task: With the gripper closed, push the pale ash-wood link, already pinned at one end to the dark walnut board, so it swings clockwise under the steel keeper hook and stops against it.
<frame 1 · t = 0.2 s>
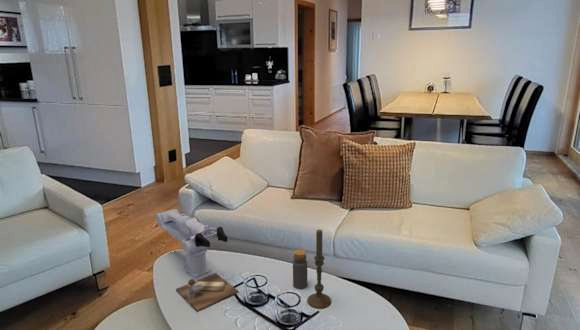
hand: (218, 242, 151), 21 cm above the table, tool horizontal, fingers open, 7 cm apart
candlestick holder: (319, 301, 148), on the table
link: (205, 284, 155), point 3 cm above the table, hinge at 50.0°
bottle: (300, 285, 159), on the table
keeper: (192, 290, 156), resting on board
board: (207, 292, 155), on the table
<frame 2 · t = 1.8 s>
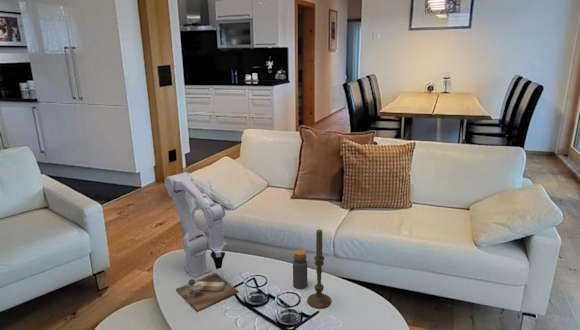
hand: (218, 264, 159), 8 cm above the table, tool pointing down, fingers open, 5 cm apart
nothing on the table moved.
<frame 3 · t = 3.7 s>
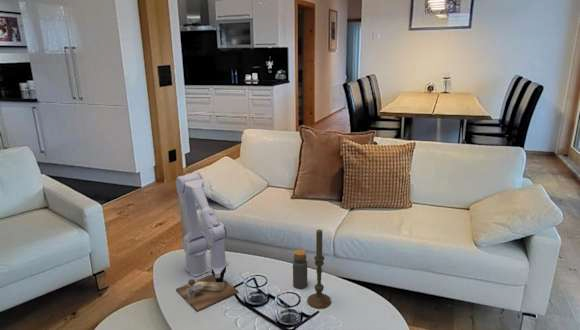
hand: (219, 284, 157), 2 cm above the table, tool pointing down, fingers closed
link: (205, 284, 155), point 3 cm above the table, hinge at 49.3°, touching gripper
everything else where it was.
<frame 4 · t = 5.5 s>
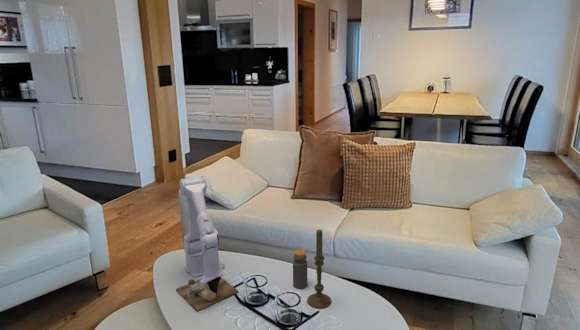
hand: (213, 293, 151), 2 cm above the table, tool pointing down, fingers closed, pressing on link
link: (200, 289, 152), point 3 cm above the table, hinge at 14.7°, touching gripper
everything else where it was.
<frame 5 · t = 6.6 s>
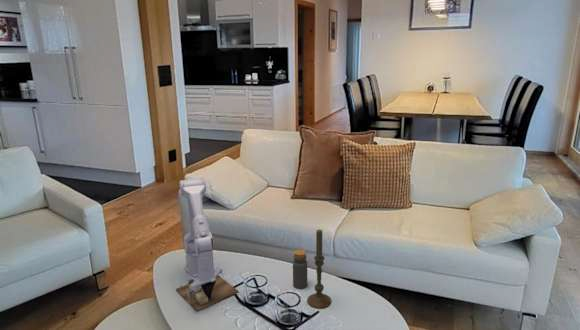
hand: (208, 297, 149), 2 cm above the table, tool pointing down, fingers closed
link: (197, 291, 151), point 3 cm above the table, hinge at -1.1°, touching gripper
everything else where it was.
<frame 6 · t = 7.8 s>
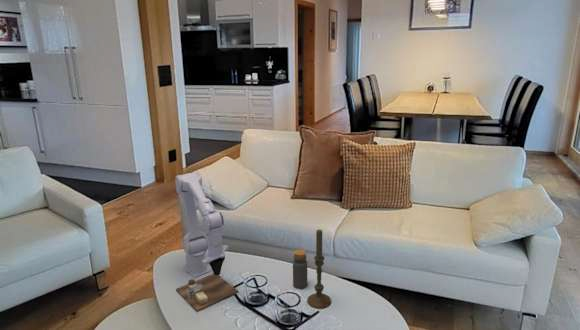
hand: (217, 274, 152), 8 cm above the table, tool pointing down, fingers closed
link: (197, 291, 151), point 3 cm above the table, hinge at -1.2°
everything else where it was.
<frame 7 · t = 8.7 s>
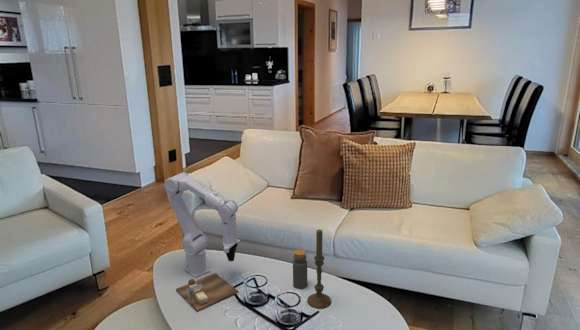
hand: (231, 260, 162), 8 cm above the table, tool pointing down, fingers closed
nothing on the table moved.
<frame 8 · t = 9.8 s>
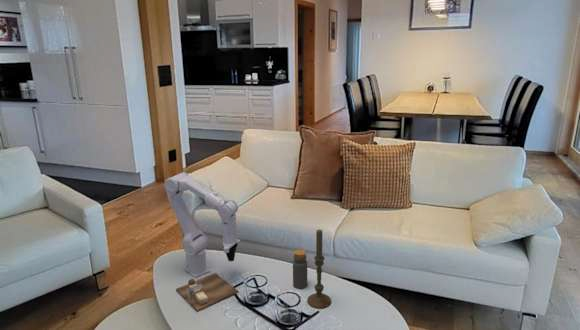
hand: (231, 260, 162), 8 cm above the table, tool pointing down, fingers closed
nothing on the table moved.
at the end: link at -1° (first picture: +50°) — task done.
